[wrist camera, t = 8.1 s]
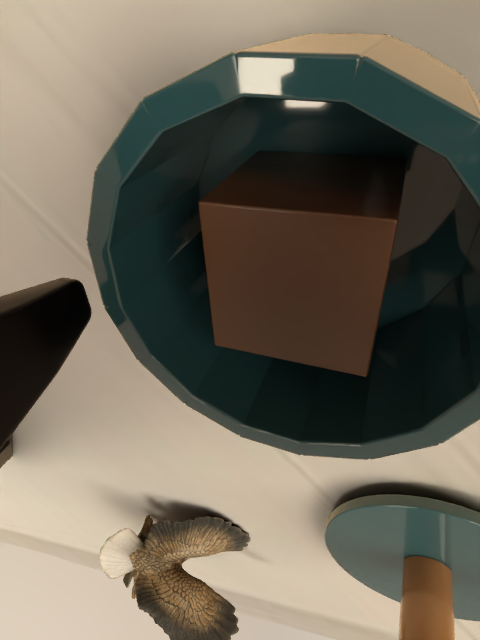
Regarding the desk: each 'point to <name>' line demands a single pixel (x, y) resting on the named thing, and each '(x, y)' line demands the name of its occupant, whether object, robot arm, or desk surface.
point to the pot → (317, 138)
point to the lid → (412, 558)
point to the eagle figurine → (175, 574)
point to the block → (302, 255)
